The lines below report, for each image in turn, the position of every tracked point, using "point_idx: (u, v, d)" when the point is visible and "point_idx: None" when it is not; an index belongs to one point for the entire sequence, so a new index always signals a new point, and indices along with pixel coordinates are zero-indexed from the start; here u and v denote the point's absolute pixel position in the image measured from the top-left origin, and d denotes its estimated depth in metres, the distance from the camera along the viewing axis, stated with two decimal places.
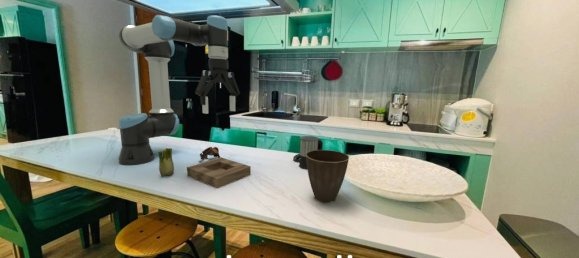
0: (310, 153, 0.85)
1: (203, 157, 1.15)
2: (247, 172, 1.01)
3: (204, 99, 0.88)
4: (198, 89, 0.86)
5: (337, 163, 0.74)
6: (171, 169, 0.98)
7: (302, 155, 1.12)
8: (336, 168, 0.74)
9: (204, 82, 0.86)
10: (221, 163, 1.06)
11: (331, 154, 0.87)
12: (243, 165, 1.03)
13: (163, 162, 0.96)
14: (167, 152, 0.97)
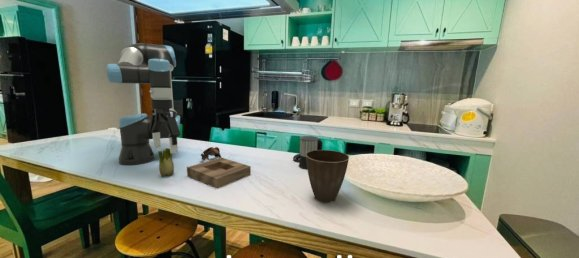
0: (310, 153, 0.85)
1: (204, 157, 1.15)
2: (247, 172, 1.01)
3: None
4: None
5: (337, 163, 0.74)
6: (171, 169, 0.98)
7: (302, 155, 1.12)
8: (336, 168, 0.74)
9: (151, 120, 0.98)
10: (221, 163, 1.06)
11: (331, 154, 0.87)
12: (243, 165, 1.03)
13: (163, 162, 0.96)
14: (167, 152, 0.97)
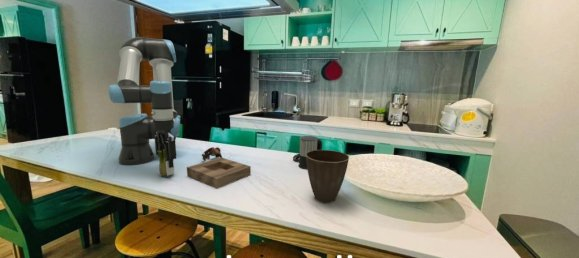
0: (310, 153, 0.85)
1: (205, 157, 1.15)
2: (247, 172, 1.01)
3: None
4: None
5: (337, 163, 0.74)
6: None
7: (301, 155, 1.12)
8: (336, 168, 0.74)
9: (155, 143, 0.99)
10: (221, 163, 1.06)
11: (331, 154, 0.87)
12: (243, 165, 1.03)
13: (163, 162, 0.96)
14: None
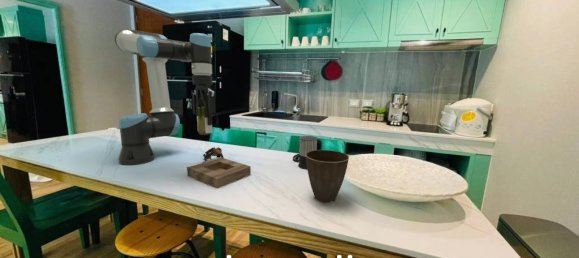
0: (310, 153, 0.85)
1: (207, 158, 1.14)
2: (247, 172, 1.01)
3: (197, 118, 0.97)
4: None
5: (337, 163, 0.74)
6: None
7: (301, 155, 1.12)
8: (336, 168, 0.74)
9: (193, 102, 0.97)
10: (221, 163, 1.06)
11: (331, 154, 0.87)
12: (243, 165, 1.03)
13: (202, 119, 0.93)
14: None
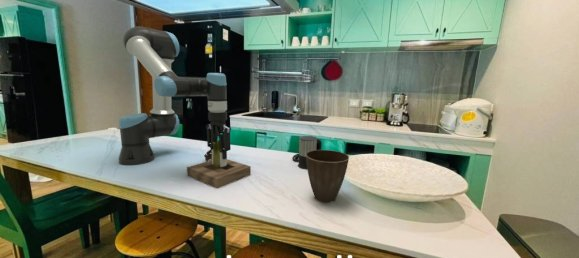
0: (310, 153, 0.85)
1: (208, 158, 1.14)
2: (247, 172, 1.01)
3: None
4: None
5: (337, 163, 0.74)
6: None
7: (301, 155, 1.12)
8: (336, 168, 0.74)
9: (207, 135, 1.00)
10: None
11: (331, 154, 0.87)
12: (243, 165, 1.03)
13: (217, 153, 0.97)
14: None
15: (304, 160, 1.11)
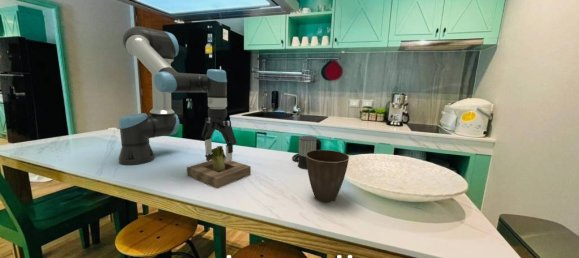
0: (310, 153, 0.85)
1: (209, 158, 1.14)
2: (247, 172, 1.01)
3: None
4: None
5: (337, 163, 0.74)
6: (223, 166, 1.00)
7: (301, 155, 1.12)
8: (336, 168, 0.74)
9: (204, 127, 1.01)
10: None
11: (331, 154, 0.87)
12: (243, 165, 1.03)
13: (217, 159, 0.97)
14: (219, 150, 0.99)
15: (304, 160, 1.11)
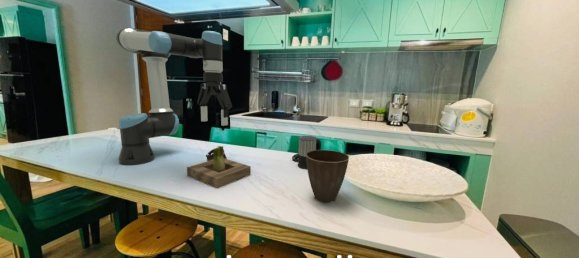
0: (310, 153, 0.85)
1: (210, 158, 1.14)
2: (247, 172, 1.01)
3: None
4: None
5: (337, 163, 0.74)
6: (224, 166, 1.00)
7: (300, 155, 1.12)
8: (336, 168, 0.74)
9: (200, 94, 0.99)
10: None
11: (331, 154, 0.87)
12: (243, 165, 1.03)
13: (217, 159, 0.97)
14: (220, 150, 0.99)
15: (304, 160, 1.11)
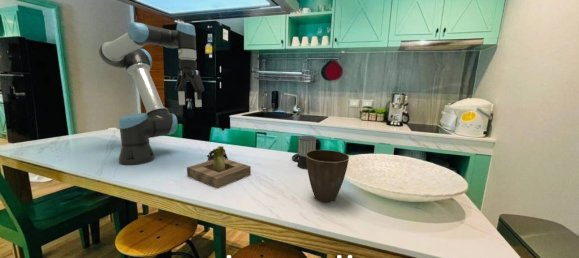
0: (310, 153, 0.85)
1: (211, 159, 1.13)
2: (247, 172, 1.01)
3: None
4: None
5: (337, 163, 0.74)
6: (224, 167, 1.00)
7: (300, 155, 1.12)
8: (336, 168, 0.74)
9: (177, 80, 1.11)
10: None
11: (331, 154, 0.87)
12: (243, 165, 1.03)
13: (217, 159, 0.97)
14: (220, 150, 0.99)
15: (303, 160, 1.12)
